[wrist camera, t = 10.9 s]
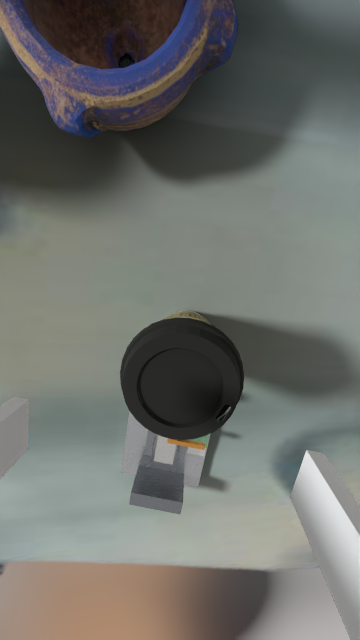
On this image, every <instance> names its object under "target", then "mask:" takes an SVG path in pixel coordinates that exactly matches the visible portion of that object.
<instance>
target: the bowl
mask: <svg viewBox="0 0 360 640" xmlns="http://www.w3.org/2000/svg"><path fill="white" fill-rule="evenodd" d="M0 30H1V32H2V33H3V35H4V37H5V38H6V40H7V42H8V43H9V45H10V47H11V49H12V50H13V52H14V54H15V55H16V57H17V59H18V60H19V62H20V63H21V65H22V66H23V68H24V69H25V70H26V71H27V73H28V74H29V75H30V76H31V78H32V79H33V80H34V81H35V83H36V84H37V85H38V87H39V88H40V89H41V91H42V93H43V95H44V98H45V102H46V106H47V108H48V110H49V113H50V115H51V116H52V118H53V120H54V122H55V123H56V124H57V126H58V127H59V128H60V129H62V130H64V131H66V132H68V133H71V134H73V135H78V136H83V137H89V138H90V137H92V136H96V135H98V134H100V133H101V132H104V131H106V130H108V129H111V130H115V131H123V130H132V129H136V128H143V127H146V126H148V125H150V124H152V123H154V122H156V121H158V120H160V119H161V118H163V117H164V116H165V115H167V114H168V113H169V112H171V111H172V110H173V109H174V108H175V107H176V106H177V105H178V104H179V102H180V101H181V100H182V99H183V98H184V96H185V95H186V94H187V92H188V91H189V89H190V88H191V86H192V84H193V83H194V81H195V80H196V79H197V78H199V77H200V76H202V75H204V74H206V73H208V72H209V71H211V70H213V69H215V68H217V67H219V66H220V65H222V64H224V63H225V62H226V61H227V60H228V59H229V58H230V57H231V54H232V51H233V47H234V44H235V41H236V36H237V30H238V20H237V15H236V11H235V6H234V3H233V0H0ZM125 53H127V54H129V55H130V56H131V57H132V59H133V60H134V62H131V63H130V64H129V66H128V67H125V68H120V67H119V59H120V57H121V56H123V55H124V54H125Z"/></svg>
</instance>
